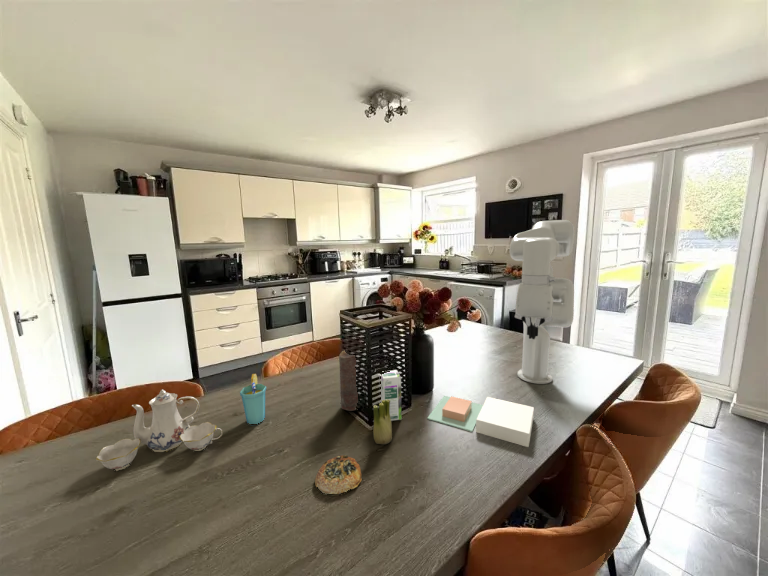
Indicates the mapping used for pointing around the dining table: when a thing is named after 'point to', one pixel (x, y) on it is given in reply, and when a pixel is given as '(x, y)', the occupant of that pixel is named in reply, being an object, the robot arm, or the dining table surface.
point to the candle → (348, 381)
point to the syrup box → (392, 393)
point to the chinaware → (159, 432)
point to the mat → (467, 425)
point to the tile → (457, 409)
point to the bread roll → (338, 475)
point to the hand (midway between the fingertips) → (532, 337)
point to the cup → (254, 401)
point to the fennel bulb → (382, 423)
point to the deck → (506, 421)
